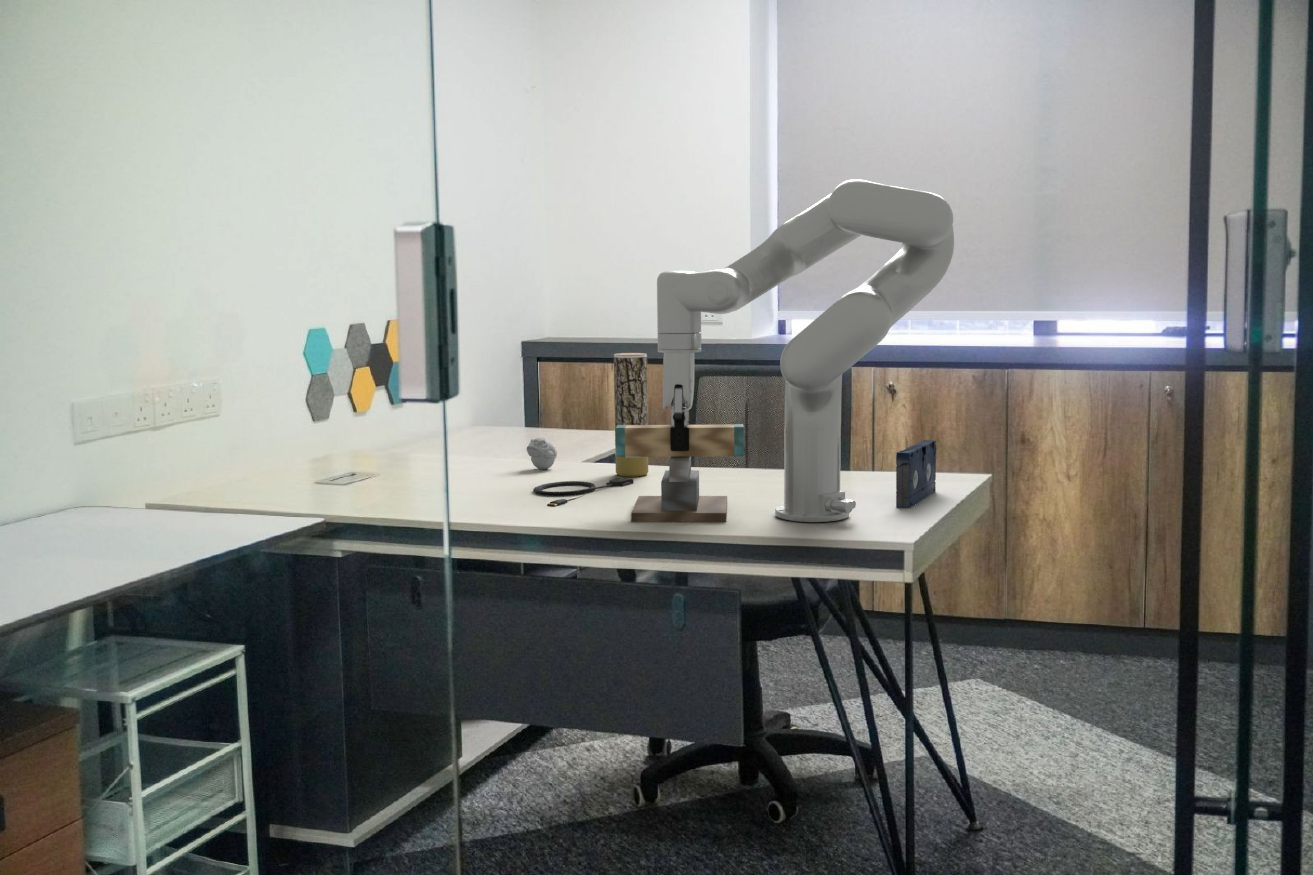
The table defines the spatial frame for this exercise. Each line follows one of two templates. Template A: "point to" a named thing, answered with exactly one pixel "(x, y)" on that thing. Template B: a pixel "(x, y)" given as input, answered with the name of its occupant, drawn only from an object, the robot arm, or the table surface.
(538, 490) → the cable
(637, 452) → the oak beam
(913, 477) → the vhs cassette tape
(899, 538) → the table surface
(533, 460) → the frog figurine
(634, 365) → the bark log
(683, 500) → the fulcrum stand
